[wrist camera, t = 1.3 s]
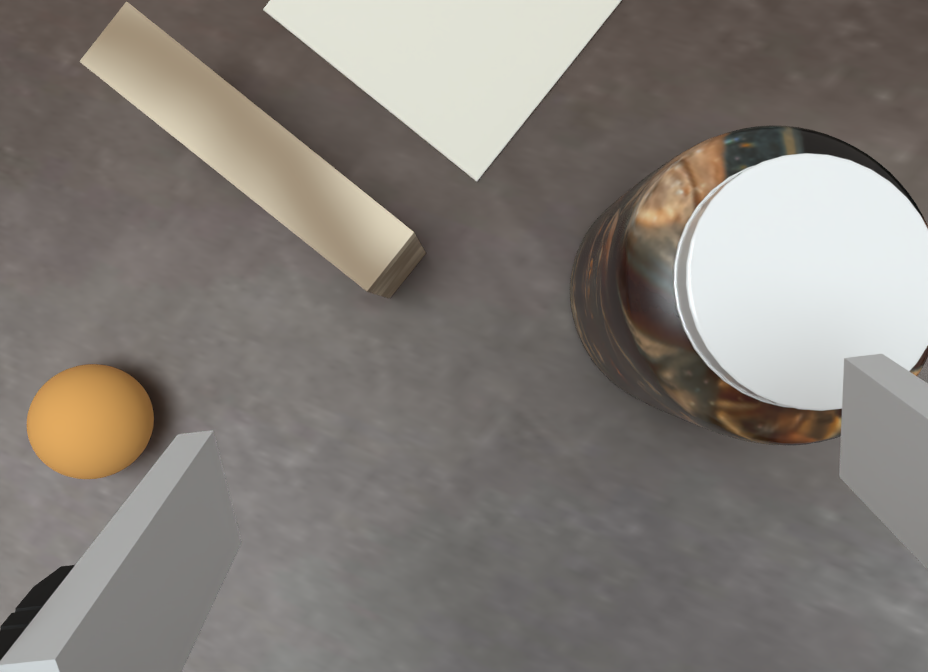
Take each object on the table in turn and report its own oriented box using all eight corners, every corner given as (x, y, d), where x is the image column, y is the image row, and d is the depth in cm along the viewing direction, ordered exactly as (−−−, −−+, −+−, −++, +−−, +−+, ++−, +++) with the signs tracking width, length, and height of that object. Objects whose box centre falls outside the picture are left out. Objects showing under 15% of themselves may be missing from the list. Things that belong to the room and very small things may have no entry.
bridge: (389, 298, 39) (367, 291, 30) (169, 122, 39) (79, 61, 30) (425, 253, 39) (413, 232, 30) (205, 76, 39) (126, 1, 30)
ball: (127, 488, 40) (72, 515, 34) (43, 422, 40) (-24, 438, 34) (192, 406, 40) (148, 419, 34) (109, 339, 39) (52, 342, 34)
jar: (811, 201, 39) (1025, 128, 24) (777, 425, 40) (967, 488, 25) (585, 168, 39) (660, 74, 24) (552, 392, 40) (605, 435, 25)
